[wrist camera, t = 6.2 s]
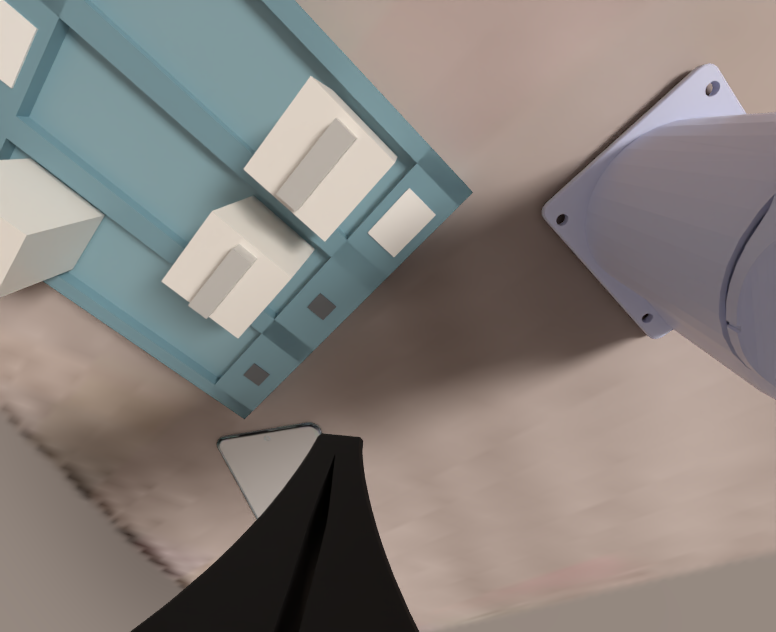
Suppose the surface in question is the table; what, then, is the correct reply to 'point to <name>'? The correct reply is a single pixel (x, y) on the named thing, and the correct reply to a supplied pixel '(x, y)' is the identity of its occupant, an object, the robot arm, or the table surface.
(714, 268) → the robot arm
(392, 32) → the table surface
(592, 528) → the table surface
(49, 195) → the tab
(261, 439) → the smartphone
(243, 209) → the tab
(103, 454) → the table surface
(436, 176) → the switch board
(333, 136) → the tab
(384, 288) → the table surface
